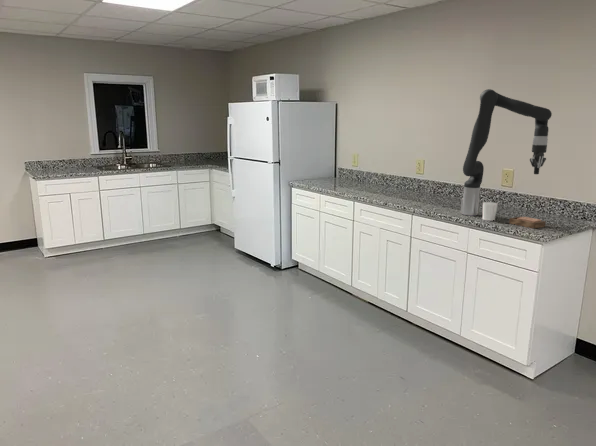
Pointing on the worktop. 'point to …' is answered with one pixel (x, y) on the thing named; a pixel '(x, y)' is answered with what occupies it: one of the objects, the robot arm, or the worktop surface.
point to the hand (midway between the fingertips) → (536, 174)
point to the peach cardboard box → (529, 219)
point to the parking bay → (526, 223)
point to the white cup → (489, 211)
